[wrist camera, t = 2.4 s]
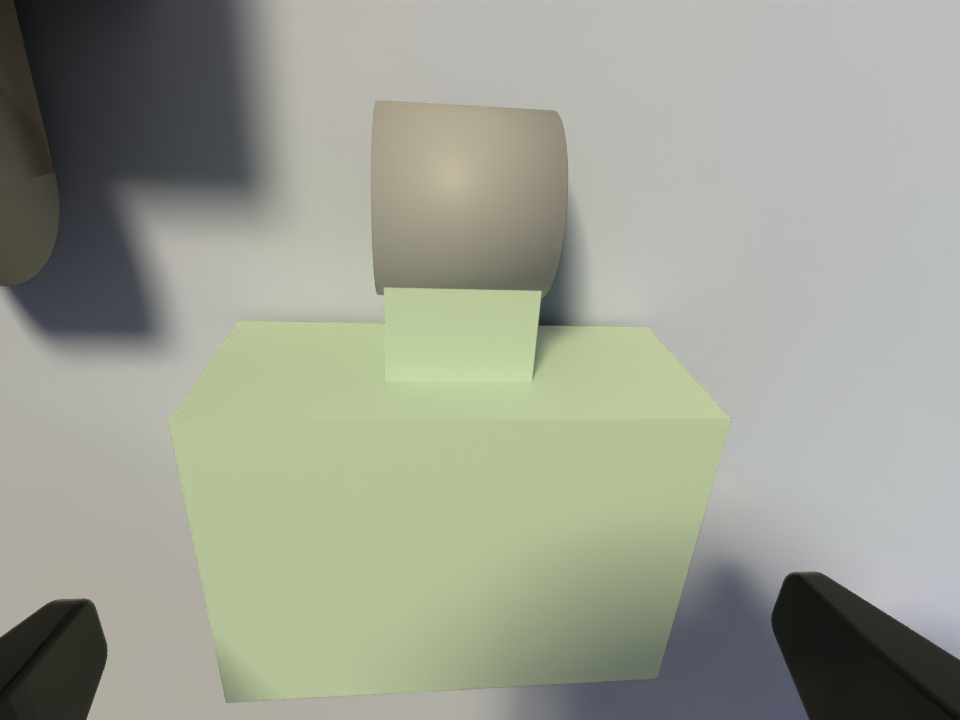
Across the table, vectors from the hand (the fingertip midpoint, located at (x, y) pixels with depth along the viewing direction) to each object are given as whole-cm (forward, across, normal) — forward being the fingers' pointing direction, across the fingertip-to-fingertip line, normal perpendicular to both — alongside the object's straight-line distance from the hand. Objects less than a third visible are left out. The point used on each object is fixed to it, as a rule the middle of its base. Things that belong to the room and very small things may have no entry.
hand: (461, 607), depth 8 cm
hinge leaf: (+4, 0, -2) cm, 4 cm away
